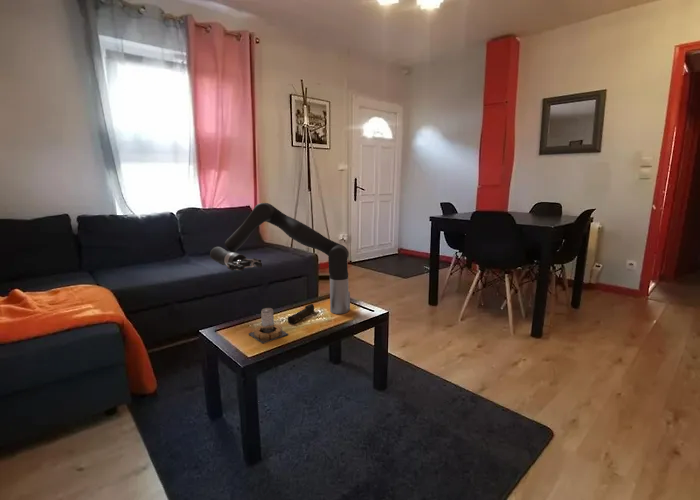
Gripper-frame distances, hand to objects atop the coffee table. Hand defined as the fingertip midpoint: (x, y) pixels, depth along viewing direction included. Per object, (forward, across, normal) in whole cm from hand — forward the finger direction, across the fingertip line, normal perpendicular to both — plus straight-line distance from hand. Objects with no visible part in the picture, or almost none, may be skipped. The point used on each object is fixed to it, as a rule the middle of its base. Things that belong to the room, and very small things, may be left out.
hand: (252, 266), depth 158 cm
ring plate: (+11, 0, +28) cm, 30 cm away
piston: (+11, 0, +27) cm, 29 cm away
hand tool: (+4, +22, +28) cm, 36 cm away
